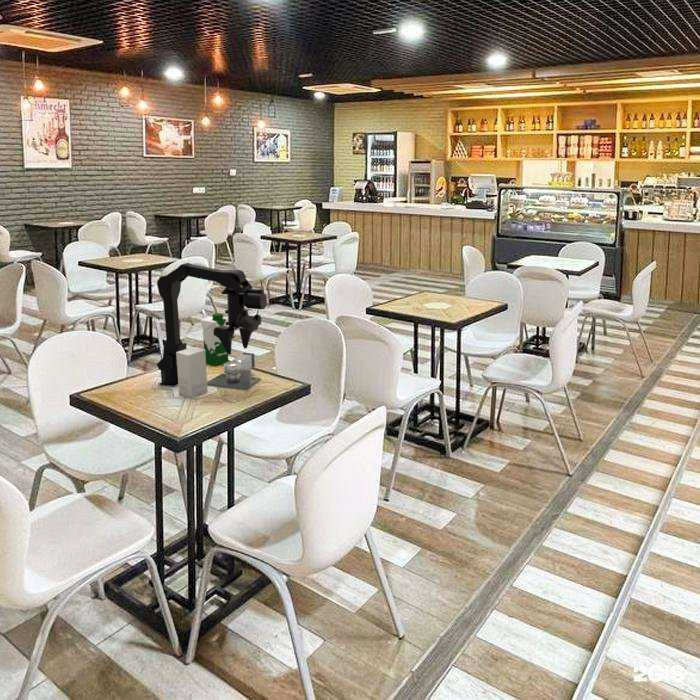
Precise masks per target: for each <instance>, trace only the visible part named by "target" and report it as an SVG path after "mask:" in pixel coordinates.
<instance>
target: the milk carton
mask: <svg viewBox="0 0 700 700" xmlns="http://www.w3.org/2000/svg"><path fill="white" fill-rule="evenodd" d="M226 322H228V317H224V315H223V313H220V312H219V313H218V312H217V313H212V316H209V317H205V318H202V319H200V324H201V328H202V333H203V334H202V335H203V336H202V338H203V349H205V355H206V365H209V366H212V367H213V366H214V367H217V366H218V367H219V366H221V365H224V363H226V362H230V360H229V354H227V352H226V350H225V348H224V346H223V344H222V343H221V341H220V340H219V338H218V337H216V336H214V332H213V330H214V329H215V327H218V326H228V325H226Z"/></svg>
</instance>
